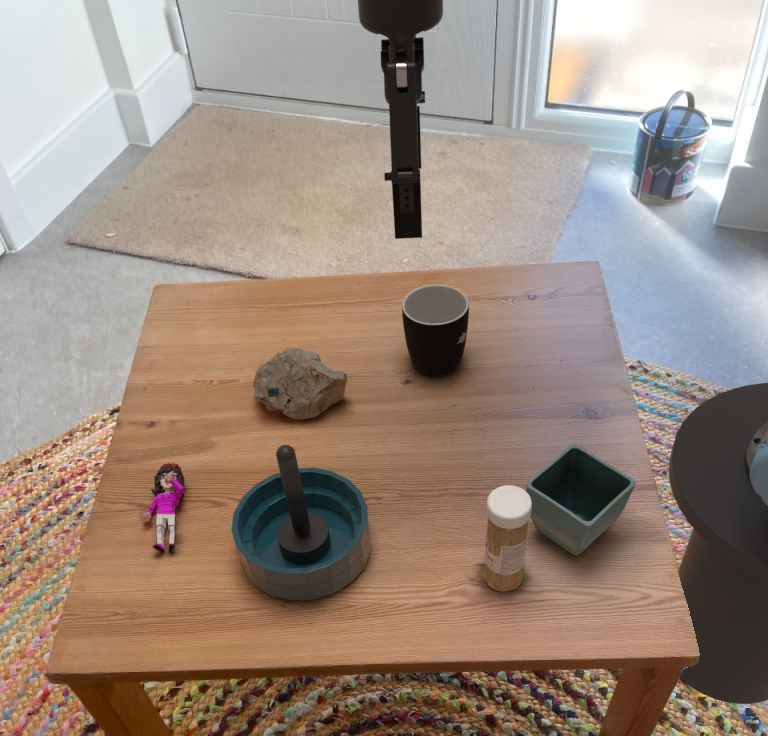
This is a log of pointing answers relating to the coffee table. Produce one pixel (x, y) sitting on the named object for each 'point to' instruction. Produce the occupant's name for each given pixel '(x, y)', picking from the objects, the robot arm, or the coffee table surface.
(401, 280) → the coffee table surface
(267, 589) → the bowl
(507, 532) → the spice jar
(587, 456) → the flower pot
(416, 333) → the mug
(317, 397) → the rock
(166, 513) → the character figurine
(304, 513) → the peg on disc base
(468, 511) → the coffee table surface
